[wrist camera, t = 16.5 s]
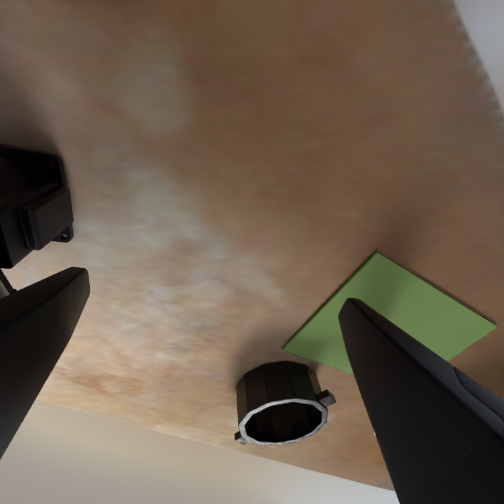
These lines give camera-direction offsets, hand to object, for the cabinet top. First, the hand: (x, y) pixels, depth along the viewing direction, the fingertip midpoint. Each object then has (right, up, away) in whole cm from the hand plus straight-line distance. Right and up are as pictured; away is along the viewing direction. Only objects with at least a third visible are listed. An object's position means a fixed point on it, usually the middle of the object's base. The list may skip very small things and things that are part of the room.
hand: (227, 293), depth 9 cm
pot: (+4, -16, +25) cm, 30 cm away
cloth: (+17, -9, +22) cm, 29 cm away
